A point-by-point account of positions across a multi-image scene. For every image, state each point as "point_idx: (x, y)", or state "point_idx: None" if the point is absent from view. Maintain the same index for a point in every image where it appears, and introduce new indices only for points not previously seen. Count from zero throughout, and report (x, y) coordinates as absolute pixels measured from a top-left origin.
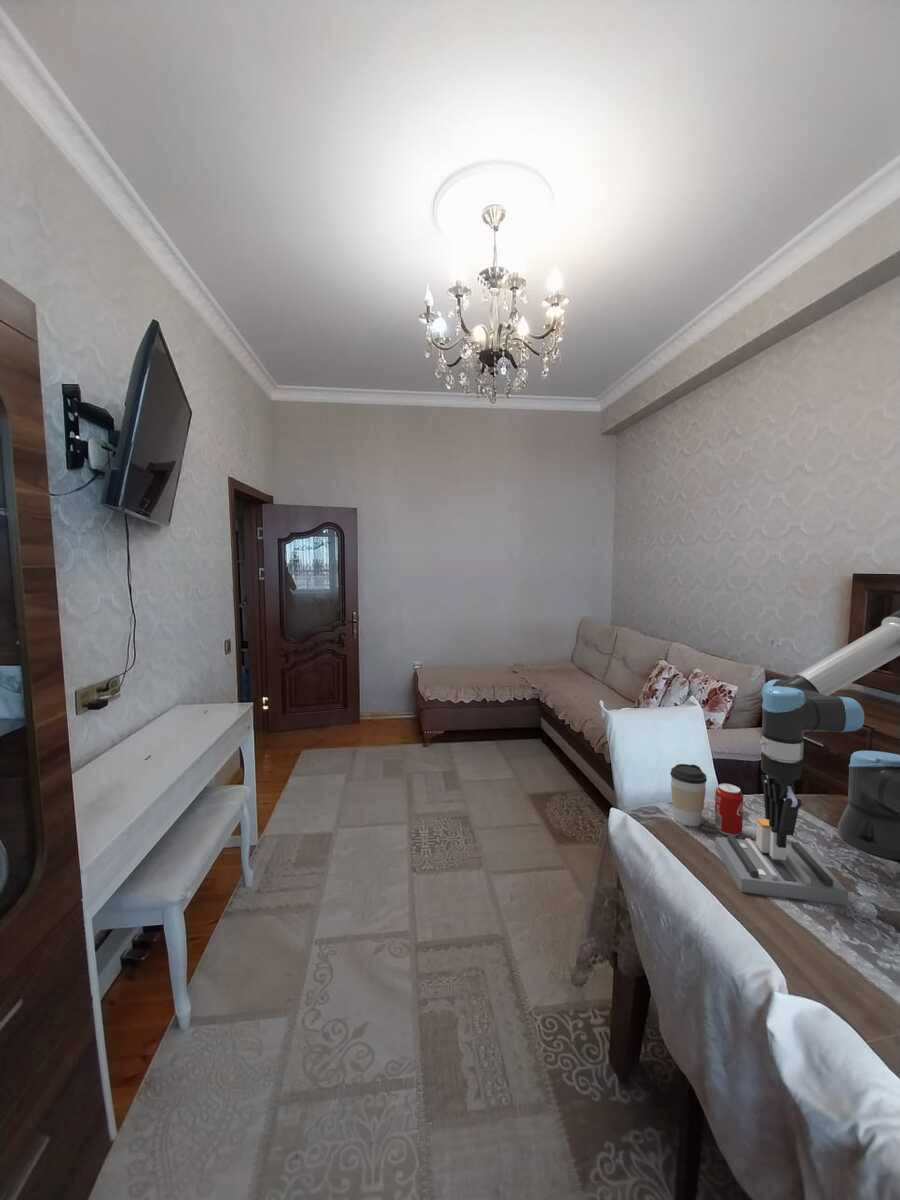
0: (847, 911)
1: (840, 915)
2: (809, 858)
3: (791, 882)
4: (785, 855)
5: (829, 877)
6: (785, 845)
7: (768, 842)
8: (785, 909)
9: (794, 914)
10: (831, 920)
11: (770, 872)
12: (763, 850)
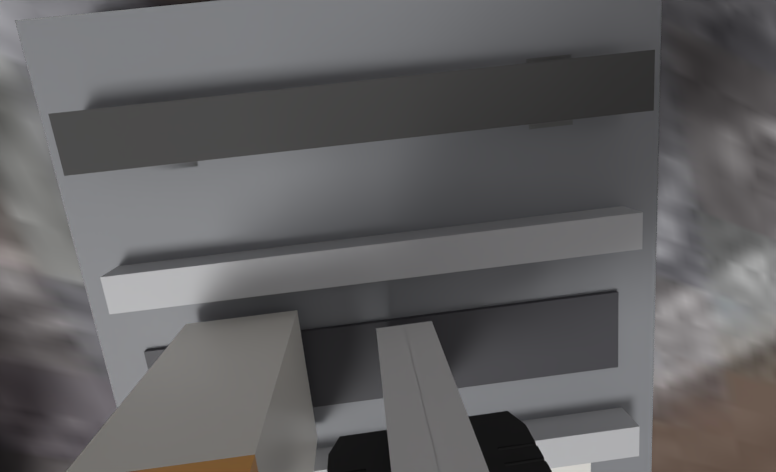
0: (662, 18)
1: (706, 80)
2: (346, 117)
3: (631, 329)
4: (438, 344)
5: (614, 61)
6: (529, 437)
7: (302, 454)
8: (704, 355)
9: (736, 324)
10: (756, 152)
11: (610, 458)
12: (316, 437)
